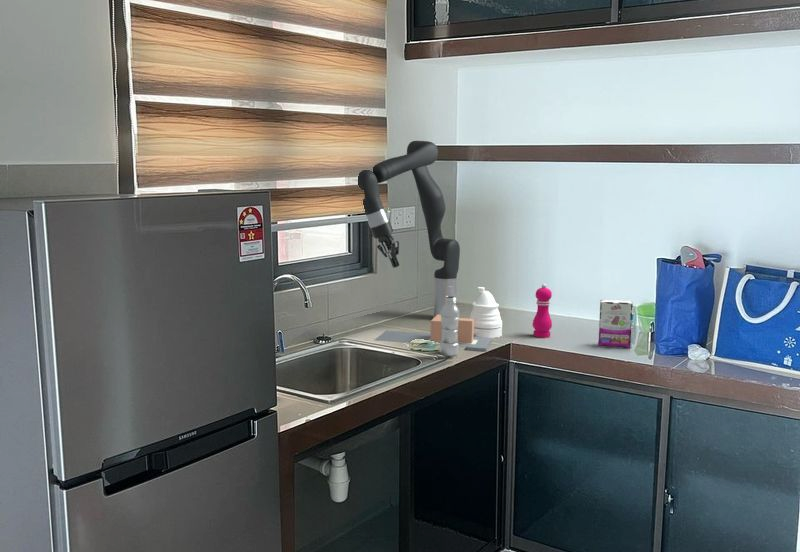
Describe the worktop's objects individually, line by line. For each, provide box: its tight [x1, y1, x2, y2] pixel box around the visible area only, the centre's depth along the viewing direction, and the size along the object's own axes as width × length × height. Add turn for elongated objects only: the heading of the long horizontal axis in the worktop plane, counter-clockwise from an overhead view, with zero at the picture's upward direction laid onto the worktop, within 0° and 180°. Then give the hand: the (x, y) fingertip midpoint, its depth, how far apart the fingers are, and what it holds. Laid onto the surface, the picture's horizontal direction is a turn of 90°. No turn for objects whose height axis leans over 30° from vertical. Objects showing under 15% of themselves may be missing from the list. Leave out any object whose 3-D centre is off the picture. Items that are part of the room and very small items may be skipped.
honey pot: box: [468, 286, 503, 339], centre depth 288 cm, size 13×13×18 cm
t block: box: [430, 314, 475, 343], centre depth 273 cm, size 12×14×8 cm
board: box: [374, 329, 493, 352], centre depth 276 cm, size 17×40×1 cm, turn 76°
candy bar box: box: [598, 299, 633, 349], centre depth 274 cm, size 11×5×16 cm, turn 77°
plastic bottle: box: [439, 296, 461, 358], centre depth 254 cm, size 6×7×20 cm
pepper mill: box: [532, 283, 553, 339], centre depth 287 cm, size 7×7×20 cm
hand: (396, 266), depth 283 cm, fingers closed
